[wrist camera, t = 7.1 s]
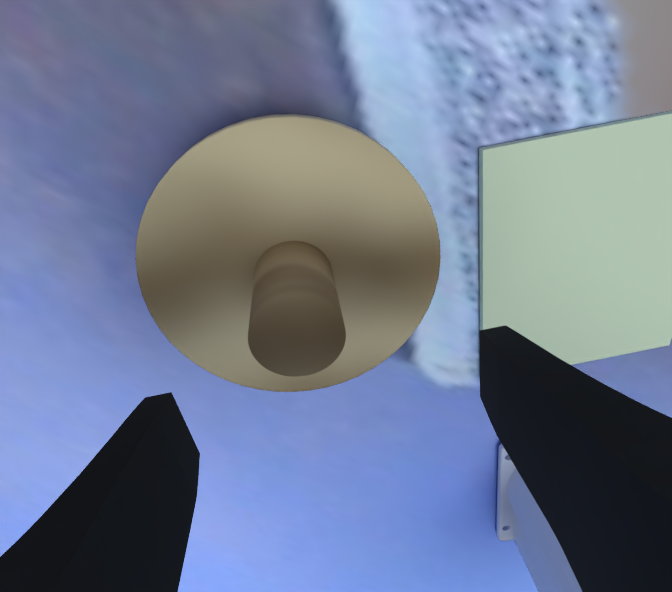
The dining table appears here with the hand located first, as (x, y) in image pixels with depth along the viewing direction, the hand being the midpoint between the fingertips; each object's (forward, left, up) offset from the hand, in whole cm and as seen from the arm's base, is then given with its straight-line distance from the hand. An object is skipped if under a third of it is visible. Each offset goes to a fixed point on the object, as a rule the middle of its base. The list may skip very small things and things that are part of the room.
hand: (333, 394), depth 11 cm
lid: (0, +1, -6) cm, 6 cm away
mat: (-4, -12, -10) cm, 16 cm away
